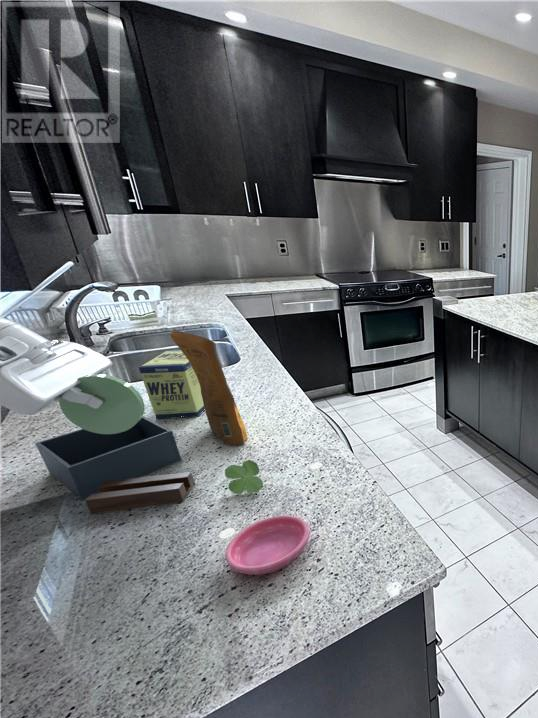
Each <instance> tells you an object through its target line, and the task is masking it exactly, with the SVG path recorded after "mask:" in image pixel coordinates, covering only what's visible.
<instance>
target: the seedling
mask: <svg viewBox="0 0 538 718" xmlns="http://www.w3.org/2000/svg"><path fill="white" fill-rule="evenodd" d="M259 473H260V467H259V465H258V464H257V462H256V461H254V460H250V459H247V460H244V461H243V462H242V465H238V464H230V465H228V466H227V467H226V468H225V470H224V476H225V477H226V479H230V480H231V481H230V482H228V486H227V487H228V490H229V491H230V492H232V493H233V494H236V495H240V494H242V493H243V494H244V492H245V491H246V493H248V494H255V493H258V492H259V491H260V490H261V489H262V488H263V487H264V481H263V480H262V479H261V478H260V477H258V476H257V475H258V474H259Z"/></svg>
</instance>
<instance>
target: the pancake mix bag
mask: <svg viewBox="0 0 538 718" xmlns="http://www.w3.org/2000/svg"><path fill="white" fill-rule="evenodd" d="M169 334H170V335H169V336H170V338H171V340H172V342H173V343H174V344H175V345H176V346H177V347H178V349H181V351H182V352H183V354H184V355H185V356H186V358H187V359H188V361H189V362H190V364H191V366H192V368H193V370H194V372H195V374H196V376H197V378H198V381H199V384H200V388H201V395H202V399H203V404H204V408H205V410H204V412H205V416H206V419H207V422H208V425H209V428H210V430H211V432H212V434H214V436H217V438H219V439H220V440H221V441H223V442H224V444H226V445H227V446H241V445H242V446H243V445H246V441H247V440H248V434H247V430H246V429H247V428H246V426H245V423H244V421H243V419H242V415H241V413H240V410H239V409H238V406H237V403H236V400H235V398H234V395H233V393H232V390H231V389H230V386H229V385H228V382H227V377H226V376H225V373H224V370H223V367H222V364H221V360H220V358H219V355H218V350H217V345H216V344H217V342H215V341H213V340H211V339H209V338H207V337H204V336H201V335H197V334H192V333H187V332H183V331H181V330H180V331H179V330H177V329H172V331H171V332H170V333H169Z"/></svg>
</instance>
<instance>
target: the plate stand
mask: <svg viewBox="0 0 538 718" xmlns="http://www.w3.org/2000/svg"><path fill="white" fill-rule="evenodd" d="M195 486H196V481H195V478H194V476H193V472H192V471H185V472H183V471H182V472H174V473H166V474H159V475H149V476H141V477H139V478H131V479H122V480H113V481H105V482H103V483H102V484H101V485H100V486H99V487H98V489H99V491H100V493H94V494H91V495H90V496H89V497H88V498H87V499H86V500H84V502H85V504H86V506H87V509H88V511H89V513H90V514H91V515H94V514H102V513H109V512H117V511H125V510H132V509H133V510H134V509H139V508H140V509H141V508H147V507H155V506H163V505H170V504H177V503H184V502H185V500H186V499H187V497H188V496H189V494H190V493H191V492H192V490H193V488H194V487H195Z"/></svg>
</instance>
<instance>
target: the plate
mask: <svg viewBox="0 0 538 718" xmlns="http://www.w3.org/2000/svg"><path fill="white" fill-rule="evenodd" d="M78 379H79V380H80V381H81V382H80V384H78V385H76V386H75V387H77V388H79V389H81V390H82V391H81V392H83V393H86V394H90V395H93V396H94V395H96V394H97V395H99V396H101V397H103V398H105V399H106V401H105V402H104V404H103V405H101V406H100V407H99V408H96V409H95V408H92V407H90V406H88V405H86V404H81V403H75V402H70V401H68V400H66V399H64V398H62V399H60V400H58V403H59V408H60V410H61V412H62V414H63V415H64V416H65V418H67V419H68V421H69V422H71V423H72V424H73V425H75V426H77V427H78V428H80V429H84V430H87V431H90V432H93V433H98V434H117V433H121V432H124V431H127V430H129V429H131V428H132V427H133V426H135V425H136V424H137V423H138V422H139V421H140V420H141V418H142V416H144V414H145V407H146V406H145V402H144V399H143V397H142V395H141V394H140V392H139V390H137V389H136V388H135V387H134V386H133V385H132V384H130V383H129V382H127V381H125V380H123V379H121V378H119V377H116V376H113V375H109V374H89V375H84V376H81V377H79V378H78Z"/></svg>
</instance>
